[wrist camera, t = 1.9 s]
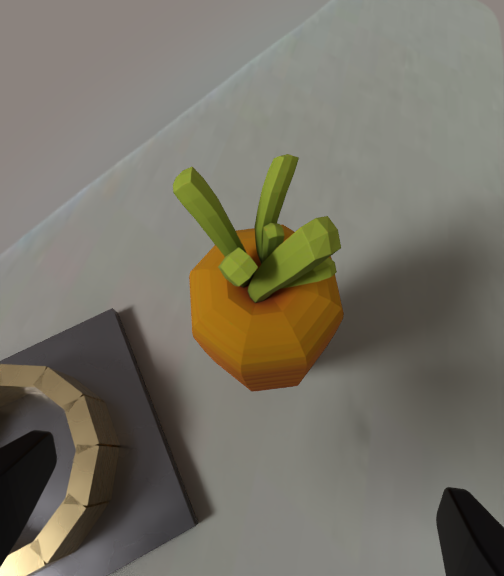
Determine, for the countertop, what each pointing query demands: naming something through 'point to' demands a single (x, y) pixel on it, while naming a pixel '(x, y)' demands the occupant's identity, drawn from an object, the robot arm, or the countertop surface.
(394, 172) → the countertop surface
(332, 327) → the carrot
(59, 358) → the collar plate
